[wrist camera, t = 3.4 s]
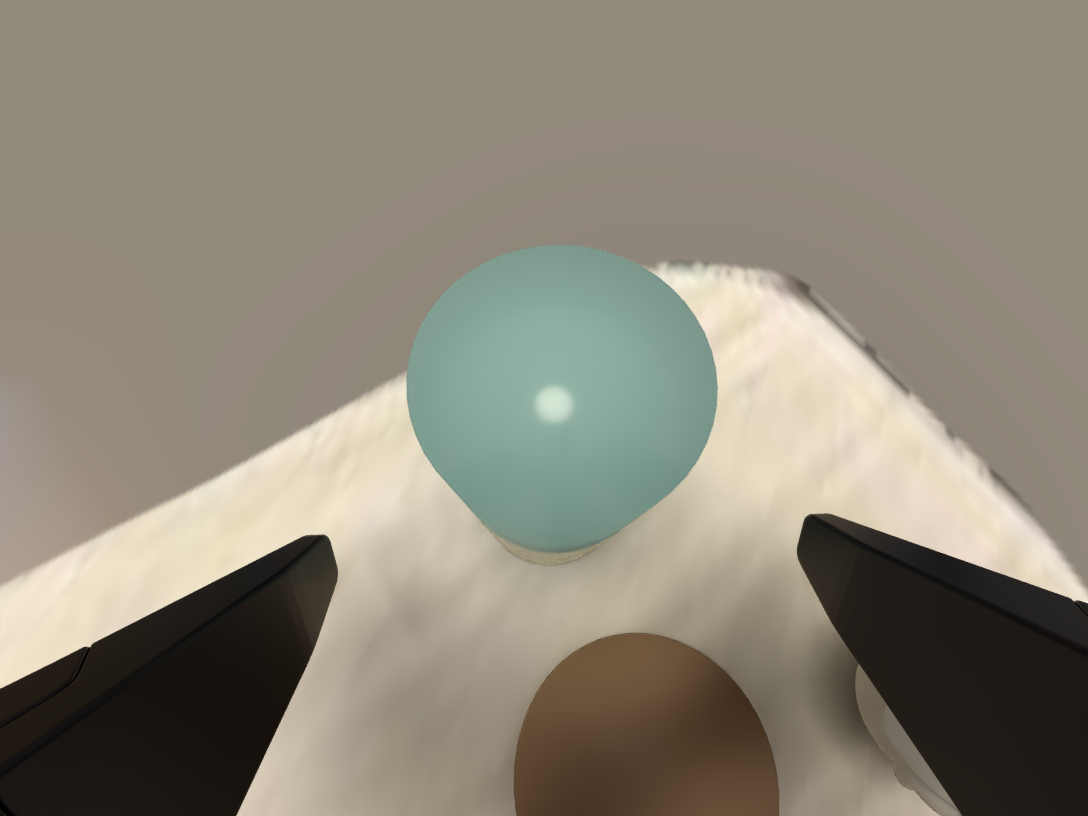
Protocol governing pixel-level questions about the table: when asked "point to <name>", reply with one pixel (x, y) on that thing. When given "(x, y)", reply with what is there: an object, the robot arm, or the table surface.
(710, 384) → the teal round cylinder
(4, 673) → the table surface
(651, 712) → the coaster
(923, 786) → the white sculpted piece
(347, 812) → the table surface
